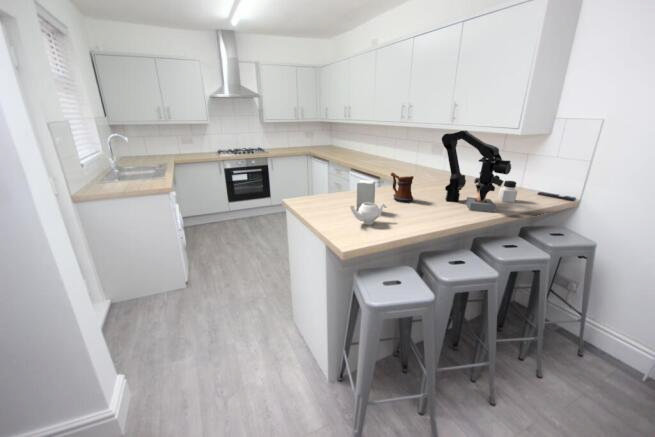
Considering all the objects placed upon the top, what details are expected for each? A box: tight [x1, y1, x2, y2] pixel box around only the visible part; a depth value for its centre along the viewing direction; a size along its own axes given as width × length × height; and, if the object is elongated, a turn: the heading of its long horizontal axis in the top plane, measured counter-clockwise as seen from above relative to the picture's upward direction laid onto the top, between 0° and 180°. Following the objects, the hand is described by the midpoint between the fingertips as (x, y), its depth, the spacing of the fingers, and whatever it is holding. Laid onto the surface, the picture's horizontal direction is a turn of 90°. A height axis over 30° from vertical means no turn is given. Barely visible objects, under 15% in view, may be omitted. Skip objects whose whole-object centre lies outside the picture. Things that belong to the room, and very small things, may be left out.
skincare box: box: [356, 179, 376, 212], centre depth 150 cm, size 8×7×16 cm
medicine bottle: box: [497, 180, 518, 204], centre depth 172 cm, size 7×7×12 cm
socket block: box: [465, 196, 497, 213], centre depth 159 cm, size 12×12×4 cm
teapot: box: [349, 202, 388, 226], centre depth 134 cm, size 10×20×9 cm, turn 115°
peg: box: [476, 192, 487, 203], centre depth 158 cm, size 4×4×9 cm
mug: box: [390, 172, 415, 204], centre depth 172 cm, size 18×12×15 cm, turn 29°
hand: (480, 199), depth 158 cm, fingers closed on peg, 4 cm apart
